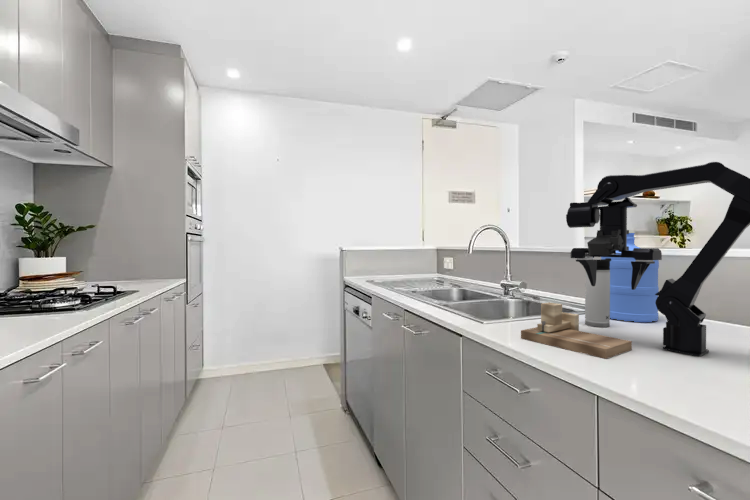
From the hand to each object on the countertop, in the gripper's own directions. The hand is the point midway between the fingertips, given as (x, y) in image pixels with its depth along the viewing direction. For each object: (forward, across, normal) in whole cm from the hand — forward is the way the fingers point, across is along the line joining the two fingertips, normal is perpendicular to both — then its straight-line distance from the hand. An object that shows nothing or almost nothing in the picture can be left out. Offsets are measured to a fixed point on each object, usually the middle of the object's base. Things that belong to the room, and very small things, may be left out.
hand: (612, 287), depth 90 cm
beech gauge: (+12, -8, -11) cm, 18 cm away
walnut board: (+13, -3, -13) cm, 19 cm away
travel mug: (+13, -10, +14) cm, 22 cm away
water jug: (+13, -10, +34) cm, 38 cm away
